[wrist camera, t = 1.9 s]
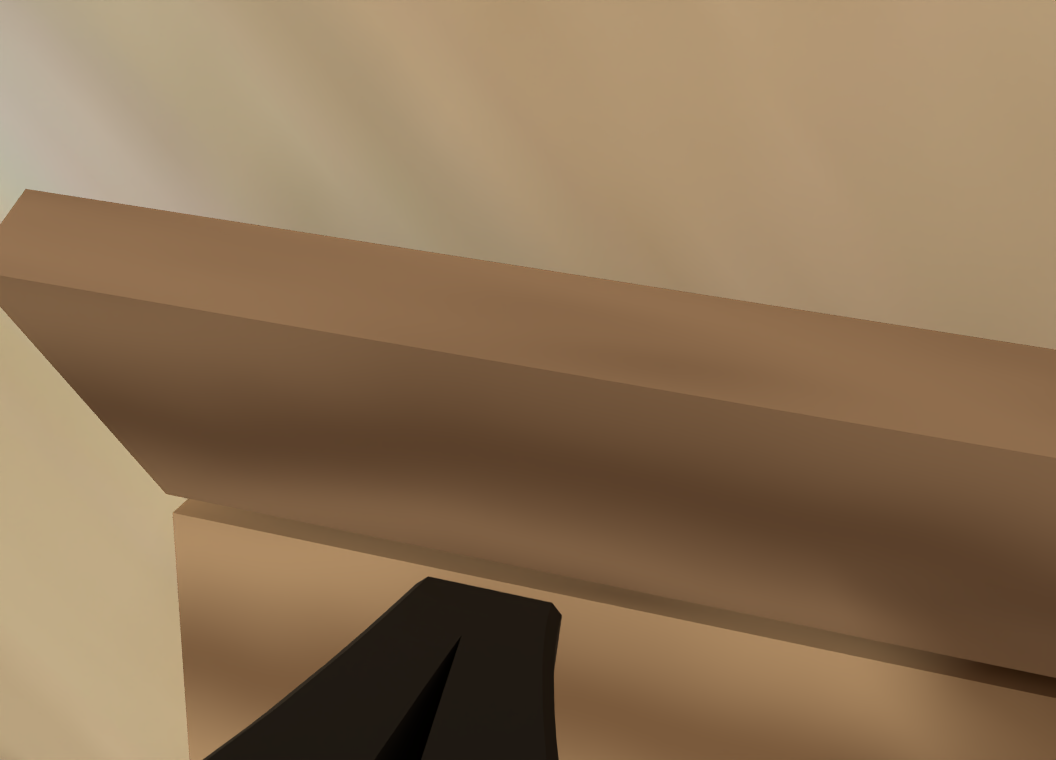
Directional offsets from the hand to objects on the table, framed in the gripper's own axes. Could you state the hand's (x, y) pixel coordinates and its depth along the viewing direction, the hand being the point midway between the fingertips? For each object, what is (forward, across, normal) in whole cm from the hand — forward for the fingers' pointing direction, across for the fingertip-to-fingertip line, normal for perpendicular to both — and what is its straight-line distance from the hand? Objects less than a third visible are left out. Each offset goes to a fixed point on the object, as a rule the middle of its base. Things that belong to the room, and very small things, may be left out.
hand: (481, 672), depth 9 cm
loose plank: (+6, -3, 0) cm, 7 cm away
